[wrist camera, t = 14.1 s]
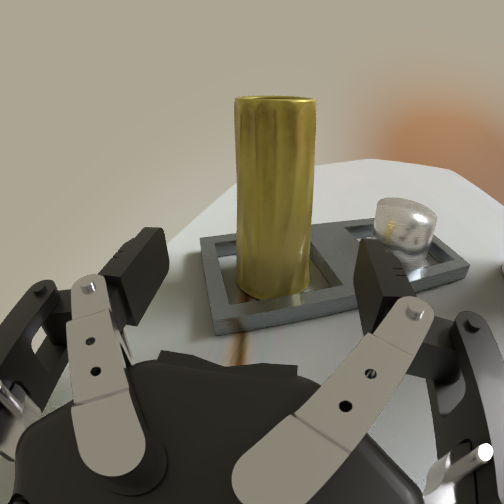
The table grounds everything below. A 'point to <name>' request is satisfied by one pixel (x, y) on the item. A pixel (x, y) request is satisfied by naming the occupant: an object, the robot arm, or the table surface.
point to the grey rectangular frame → (337, 266)
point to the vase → (274, 193)
